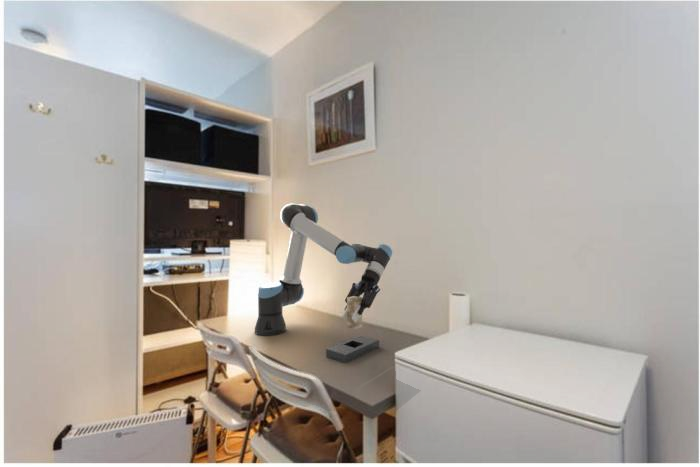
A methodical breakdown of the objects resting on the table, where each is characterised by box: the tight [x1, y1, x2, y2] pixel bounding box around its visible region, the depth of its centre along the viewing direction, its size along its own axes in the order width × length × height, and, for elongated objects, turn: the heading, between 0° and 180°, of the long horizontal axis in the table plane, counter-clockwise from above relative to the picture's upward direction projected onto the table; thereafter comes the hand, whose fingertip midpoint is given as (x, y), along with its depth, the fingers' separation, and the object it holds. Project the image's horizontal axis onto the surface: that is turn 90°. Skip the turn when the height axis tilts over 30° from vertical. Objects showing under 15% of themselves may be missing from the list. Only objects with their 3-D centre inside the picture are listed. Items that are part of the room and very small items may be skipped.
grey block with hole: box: [325, 335, 380, 364], centre depth 128 cm, size 10×22×3 cm, turn 141°
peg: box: [346, 296, 363, 330], centre depth 128 cm, size 4×4×12 cm
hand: (348, 319), depth 125 cm, fingers closed on peg, 4 cm apart
